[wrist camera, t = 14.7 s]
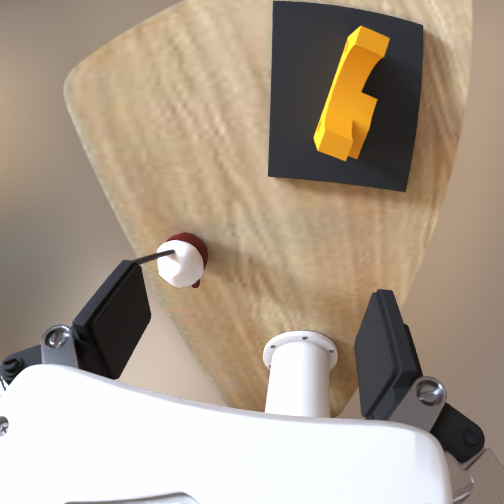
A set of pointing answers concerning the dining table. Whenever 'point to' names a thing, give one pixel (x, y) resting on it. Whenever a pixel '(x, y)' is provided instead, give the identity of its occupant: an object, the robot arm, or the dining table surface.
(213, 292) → the dining table surface
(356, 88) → the pipe clamp
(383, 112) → the mat
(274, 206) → the dining table surface
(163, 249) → the cocoa
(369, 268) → the dining table surface
